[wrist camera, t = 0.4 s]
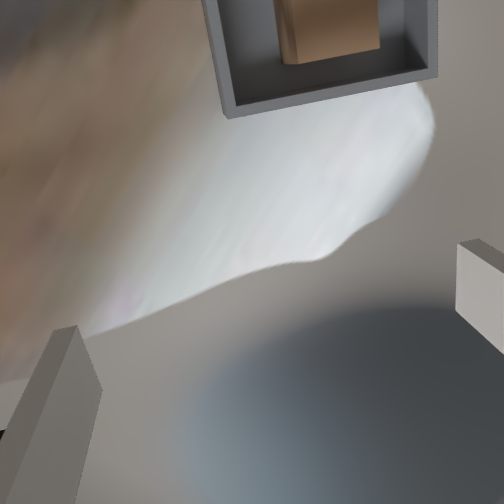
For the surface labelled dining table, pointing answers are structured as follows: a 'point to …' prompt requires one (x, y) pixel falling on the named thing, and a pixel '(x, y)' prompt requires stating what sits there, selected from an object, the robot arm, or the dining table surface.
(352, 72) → the gray tray
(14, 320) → the dining table surface
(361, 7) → the walnut block
